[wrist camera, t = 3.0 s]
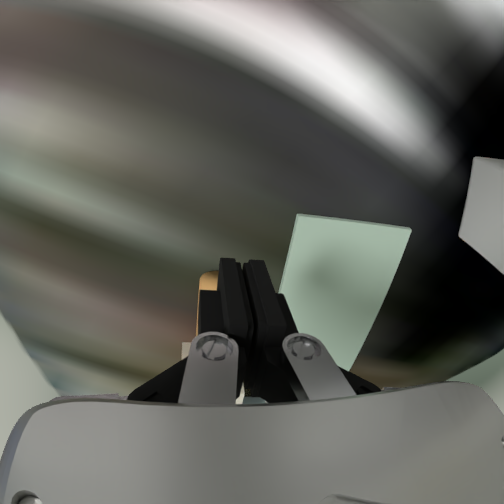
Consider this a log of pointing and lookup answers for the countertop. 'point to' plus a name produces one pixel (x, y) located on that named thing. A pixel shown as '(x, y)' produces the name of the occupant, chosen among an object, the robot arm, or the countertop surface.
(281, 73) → the countertop surface
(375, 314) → the mat
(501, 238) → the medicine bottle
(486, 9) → the countertop surface
